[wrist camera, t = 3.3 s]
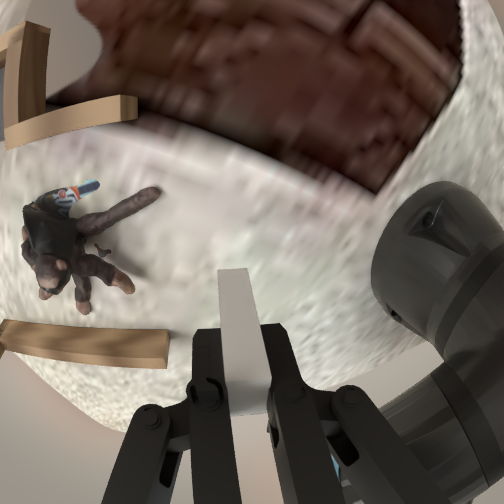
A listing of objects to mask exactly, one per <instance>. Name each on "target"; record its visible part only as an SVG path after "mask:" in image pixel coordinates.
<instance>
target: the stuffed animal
mask: <svg viewBox="0 0 504 504" xmlns="http://www.w3.org/2000/svg"><path fill="white" fill-rule="evenodd" d="M99 186H100V183H99V182H98V181H97V180H94V179H88V180H86V181H85V182H83V183H82V184H80V185H77V186H74V187H67V188H61V189H56V190H53V191H50V192H47V193H45V194H43V195H41V196H40V197H38V198H37V200H36V201H35V203H34V202H32V203H31V204H29V205H25V206H24V207H23V211H22V212H23V218H24V224H25V225H24V226H23V227H22V235H23V240H24V243H23V244H22V245H21V248H22V256H23V257H24V259H25V260H26V261H27V262H28V264H29V265H30V266H31V268H32V270H34V271H35V273H36V279H37V281H38V284H39V286H40V289H39V297H40V298H41V299H42V300H47V299H48V298H50V297H51V296H52V295H53V294H54V295H57V294H59V293H60V292H61V291H62V290H63V288H64V286H65V285H66V284H67V283H68V282H69V280H70V276H71V274H72V277H73V280H74V282H75V284H76V288H75V300H76V308H77V309H78V310H79V311H80V312H81V313H82V314H83V315H87V314H89V313H90V311H91V309H90V303H89V299H90V291H91V285H90V282H89V279H88V276H96V277H98V278H100V279H101V280H102V281H103V282H104V283H105V284H106V285H107V286H118V287H119V288H120V289H122V290H123V291H124V292H125V293H126V294H133V293H134V292H135V286H134V284H133V282H132V281H131V279H130V278H129V276H128V275H127V274H125V273H123V272H121V271H119V270H118V269H117V268H116V267H115V266H114V265H112V264H110V263H108V262H106V261H104V260H103V259H102V258H101V257H105V256H106V255H107V254H109V253H111V250H108V249H107V250H103V249H101V248H99V247H98V245H97V244H94V245H95V247H96V248H97V250H98V253H99V255H100V257H99V256H96V255H94V254H86V253H85V250H84V245H85V243H86V237H89V236H92V235H95V234H97V233H99V232H102V231H104V229H105V228H107V227H110V226H112V225H113V224H114V223H116V222H117V221H119V220H121V219H124V218H126V217H128V216H130V215H132V214H134V213H136V212H138V211H139V210H140V209H142V208H144V207H145V206H147V205H149V204H151V203H152V202H154V201H155V200H156V199H157V198H158V197H159V195H160V193H159V191H158V190H157V189H156V188H154V187H151V188H145V189H143V190H140V191H139V192H138V193H137V194H135V195H133V196H131V197H130V198H128V199H125V200H123V201H121V202H119V203H118V204H117V205H115V206H113V207H112V208H110V209H109V210H108V211H105V212H99V213H91V214H87V215H85V216H83V217H81V218H80V219H75V218H71V219H70V218H69V215H68V213H69V209H70V208H71V206H72V205H73V204H74V203H75V202H77V201H78V200H80V199H81V198H83V197H84V196H86V195H88V194H90V193H91V192H93V191H95V190H97V189H98V188H99Z"/></svg>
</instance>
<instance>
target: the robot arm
mask: <svg viewBox="0 0 504 504" xmlns="http://www.w3.org/2000/svg"><path fill="white" fill-rule="evenodd" d="M217 272H218V291H219V307H220V323H221V328H212V329H198V330H197V331H196V333H195V335H194V337H193V344H192V349H193V350H192V379H191V381H190V382H189V383H188V384H187V388H186V394H187V398H186V399H185V400H184V401H182V402H180V403H178V404H175V405H172V406H168V407H165V408H163V407H161V406H159V405H157V404H147V405H143V406H141V407H140V408H138V409H137V410H136V412H135V413H134V415H133V417H132V420H131V422H130V425H129V427H128V430H127V433H126V435H125V438H124V440H123V443H122V446H121V448H120V451H119V454H118V456H117V459H116V462H115V465H114V468H113V470H112V473H111V476H110V479H109V482H108V485H107V488H106V491H105V493H104V497H103V500H102V503H101V504H170V501H171V497H172V493H173V489H174V485H175V481H176V477H177V473H178V469H179V466H180V462H181V458H182V454H183V451H185V450H188V449H191V469H192V485H193V498H194V504H242V500H241V494H240V487H239V481H238V473H237V466H236V459H235V451H234V443H233V435H232V427H231V419H230V416H243V415H254V414H263V413H266V411H267V412H268V417H269V420H268V426H267V432H269V433H270V437H271V443H272V448H273V452H274V457H275V462H276V467H277V472H278V477H279V482H280V486H281V491H282V496H283V500H284V504H472V503H473V499H474V498H475V497H476V496H478V495H480V494H481V493H483V492H484V491H485V490H487V489H488V488H489V487H490V486H492V485H493V484H495V483H496V482H497V481H499V480H500V479H501V478H502V477H504V230H503V228H502V227H501V226H500V224H499V223H498V222H497V220H496V219H495V218H494V217H493V215H492V214H491V213H490V211H489V210H488V209H487V208H486V206H485V205H484V204H483V203H482V202H481V200H480V199H479V198H478V197H477V196H476V195H474V194H473V193H472V192H470V191H469V190H467V189H465V188H463V187H461V186H459V185H457V184H455V183H452V182H436V183H433V184H430V185H428V186H425V187H424V188H422V189H420V190H419V191H417V192H416V193H414V194H413V195H412V196H411V197H410V198H409V199H407V200H406V201H405V202H404V203H403V205H402V206H401V207H400V208H399V209H398V210H397V212H396V213H395V214H394V216H393V217H392V218H391V220H390V221H389V223H388V225H387V226H386V228H385V230H384V232H383V234H382V236H381V238H380V240H379V243H378V245H377V248H376V251H375V254H374V258H373V262H372V269H371V284H372V289H373V292H374V295H375V297H376V299H377V300H378V302H379V303H380V304H381V306H382V307H383V309H384V310H385V311H386V313H387V314H388V315H389V316H390V317H391V318H393V319H394V320H395V321H397V322H399V323H401V324H403V325H404V326H405V327H407V328H408V329H410V330H411V331H413V332H414V333H416V334H417V335H419V336H421V337H422V338H424V339H425V340H427V341H428V342H430V343H431V344H432V345H433V346H434V347H435V348H436V350H437V351H438V353H439V354H440V355H441V357H442V358H443V360H444V363H442V364H441V365H440V366H439V367H438V368H436V369H435V370H434V371H432V372H431V373H430V374H429V375H427V376H426V377H425V378H423V379H422V380H421V381H419V382H418V383H416V384H415V385H414V386H412V387H411V388H409V389H408V390H406V391H405V392H404V393H402V394H401V395H399V396H398V397H396V398H395V399H393V400H391V401H390V402H388V403H387V404H385V405H383V406H382V407H381V408H377V407H376V406H375V405H374V403H373V402H372V401H371V399H370V398H369V397H368V395H367V394H366V393H365V392H364V391H363V390H362V389H361V388H359V387H357V386H354V385H345V386H342V387H340V388H339V389H337V390H336V392H332V391H322V390H317V389H314V388H311V387H310V386H308V385H307V384H306V383H305V382H304V381H303V379H302V377H301V375H300V371H299V368H298V365H297V362H296V359H295V356H294V352H293V350H292V346H291V343H290V340H289V337H288V334H287V331H286V330H285V329H284V328H283V327H282V325H281V324H280V323H275V324H264V325H260V324H259V319H258V315H257V310H256V306H255V301H254V297H253V292H252V288H251V283H250V279H249V274H248V270H247V268H243V269H223V270H217Z"/></svg>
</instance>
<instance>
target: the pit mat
mask: <svg viewBox="0 0 504 504" xmlns="http://www.w3.org/2000/svg"><path fill="white" fill-rule="evenodd" d="M4 75H5V67H3V68H1V69H0V141H2V140H4V139H5V135H4V114H3V96H4Z"/></svg>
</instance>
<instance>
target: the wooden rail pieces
mask: <svg viewBox="0 0 504 504" xmlns="http://www.w3.org/2000/svg"><path fill="white" fill-rule="evenodd" d="M50 30H51V29H49V28H46V27H44V26H41V25H38V24H34V23H32V22H28V21H24V22H23V23H21V24H19V25H17V26H16V27H14V28H12V29H10V30H9V31H7V32H6V33H4V34H2V35H1V36H0V69H1V68H3V67H5V75H4V96H3V114H4V135H5V147H6V150H9V149H12V148H15V147H18V146H21V145H24V144H27V143H30V142H33V141H36V140H40V139H43V138H47V137H50V136H54V135H58V134H61V133H65V132H69V131H74V130H78V129H82V128H87V127H92V126H97V125H102V124H108V123H113V122H119V121H126V120H133V119H138V97H133V96H126V95H116V96H110V97H105V98H101V99H96V100H92V101H88V102H83V103H79V104H76V105H72V106H68V107H65V108H61V109H58V110H55V111H51V112H48V113H46V68H47V54H48V45H49V37H50ZM169 345H170V338H169V334H168V331H167V330H140V329H105V328H86V327H71V326H58V325H48V324H38V323H29V322H21V321H13V320H6V319H4V320H3V321H2V323H1V325H0V358H1V356H2V354H3V353H4V351H5V350H8V351H13V352H17V353H22V354H26V355H31V356H36V357H42V358H48V359H54V360H60V361H67V362H74V363H82V364H91V365H101V366H113V367H128V368H150V369H167V363H168V353H169Z"/></svg>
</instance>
